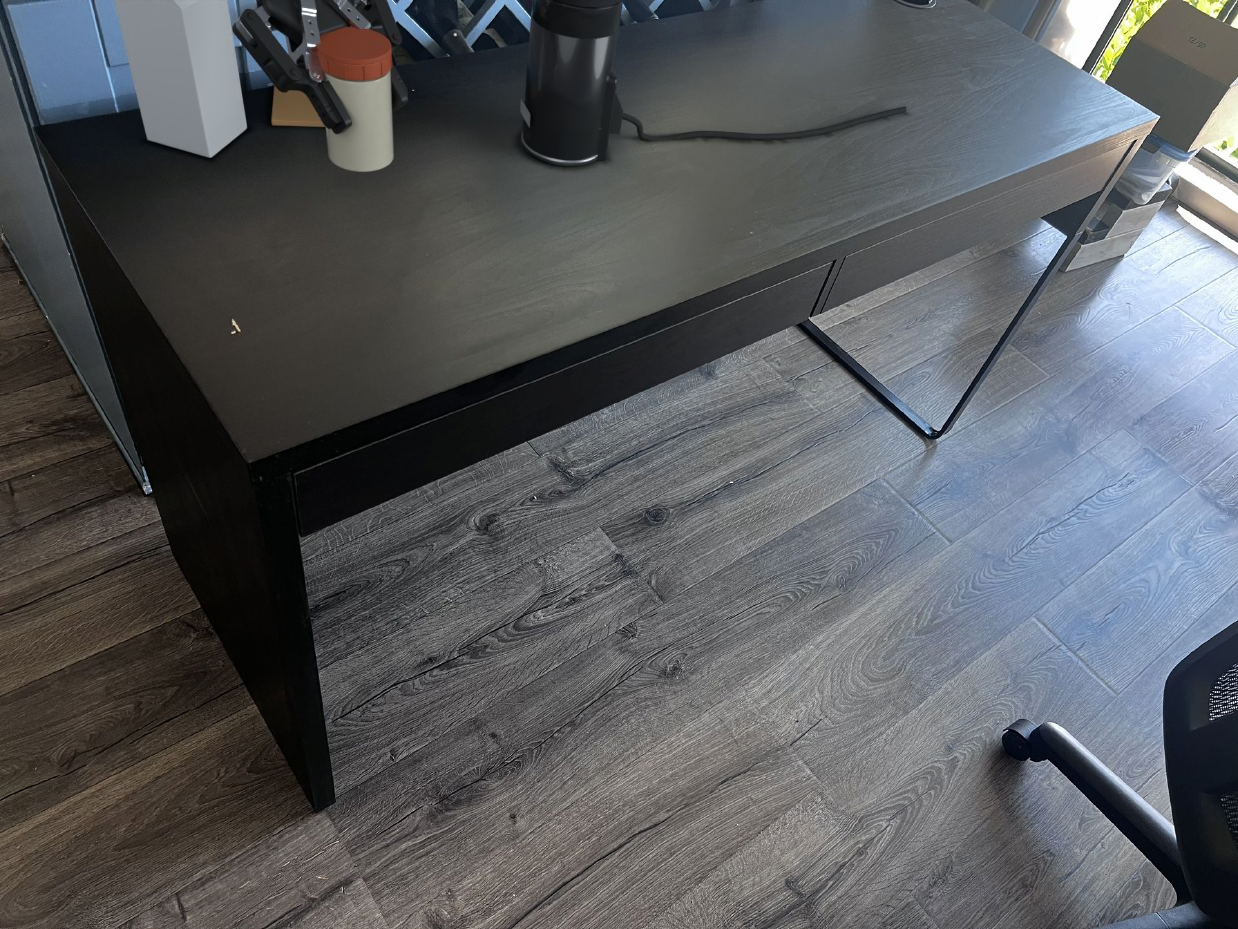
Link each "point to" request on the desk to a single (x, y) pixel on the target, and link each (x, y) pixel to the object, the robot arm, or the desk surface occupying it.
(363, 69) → the lid
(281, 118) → the mat
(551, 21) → the robot arm
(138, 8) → the milk carton
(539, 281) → the desk surface
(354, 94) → the jar
